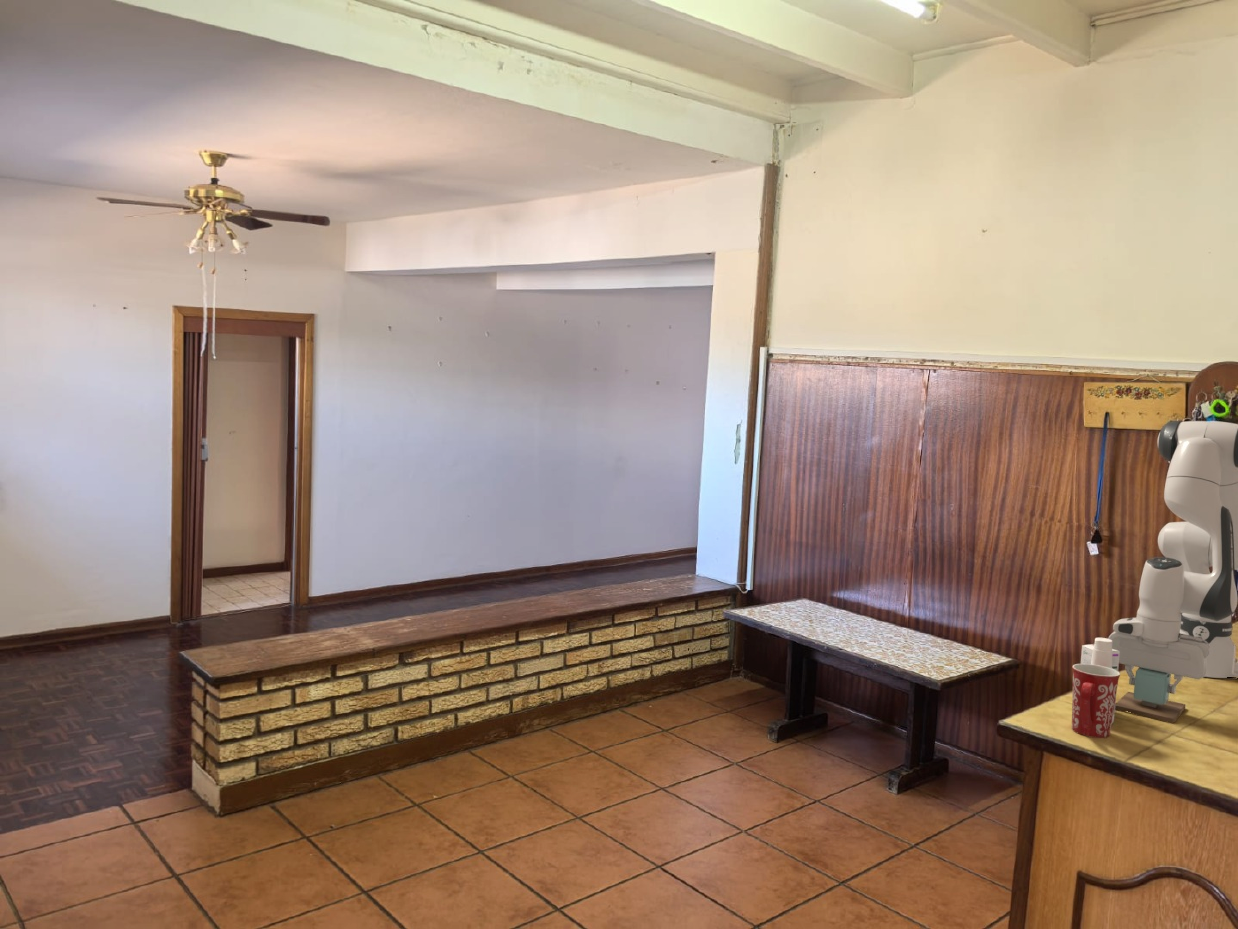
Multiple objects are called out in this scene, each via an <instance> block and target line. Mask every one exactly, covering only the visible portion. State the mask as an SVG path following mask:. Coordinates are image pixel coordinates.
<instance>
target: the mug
mask: <svg viewBox="0 0 1238 929" xmlns="http://www.w3.org/2000/svg"><path fill="white" fill-rule="evenodd" d="M1071 668H1072V699H1071V700H1072V705H1071V707H1072V709H1071V729H1072V731H1073V732H1075V733H1076V734H1080V735H1083V736H1086V737H1090V738H1091V737H1092V738H1097V739H1098V738H1101V739H1102V738H1104V739H1105V738H1108V737H1110V734H1111V729H1112V724H1113V723H1112V717H1113V710H1114V704H1115V698H1116V699H1117V693H1116V692H1118V686H1119V679H1120V676H1121V673H1120V672H1119V670H1118V671H1116V670H1114V669H1111V668H1108V667H1104V666H1099V665H1093V664H1081V663H1076V664H1073V665H1072V667H1071ZM1111 723H1112V724H1111Z"/></svg>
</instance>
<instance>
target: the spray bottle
mask: <svg viewBox="0 0 1238 929" xmlns="http://www.w3.org/2000/svg"><path fill="white" fill-rule="evenodd" d="M1093 644H1094V647H1093V653H1092V658H1091V664H1093V665H1099V666H1104V667H1108V668H1111V669H1113V668H1112V654H1113V651H1112V640H1110V639H1108V637H1106V638H1105V637H1095V638H1094V643H1093ZM1117 692H1118V691H1117ZM1117 692H1116V694H1117ZM1115 703H1117V697H1116V698H1115ZM1114 713H1116V710H1115V704H1114V710H1113V717H1112V723H1111V725H1112V724H1113V723H1114V720H1115V714H1114Z"/></svg>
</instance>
